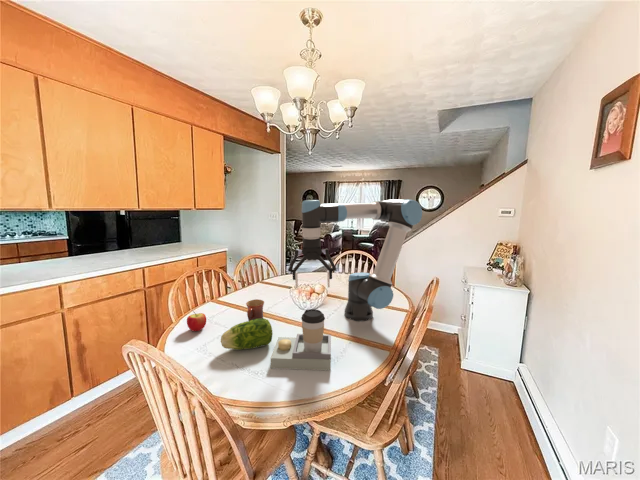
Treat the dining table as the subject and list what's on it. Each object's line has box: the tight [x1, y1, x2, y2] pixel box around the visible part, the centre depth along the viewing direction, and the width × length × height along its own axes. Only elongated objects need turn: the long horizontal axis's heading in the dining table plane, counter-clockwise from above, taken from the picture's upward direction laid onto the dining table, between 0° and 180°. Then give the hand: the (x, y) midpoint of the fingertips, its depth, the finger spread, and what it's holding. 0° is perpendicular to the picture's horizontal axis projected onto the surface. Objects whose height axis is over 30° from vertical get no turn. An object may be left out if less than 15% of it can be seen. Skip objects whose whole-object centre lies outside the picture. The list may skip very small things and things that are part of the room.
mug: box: [245, 298, 265, 321], centre depth 131 cm, size 12×9×10 cm
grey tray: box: [270, 333, 332, 371], centre depth 104 cm, size 22×15×6 cm
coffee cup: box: [300, 308, 326, 352], centre depth 102 cm, size 9×9×15 cm
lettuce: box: [220, 317, 274, 351], centre depth 110 cm, size 12×21×11 cm, turn 117°
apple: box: [186, 311, 207, 332], centre depth 124 cm, size 8×8×10 cm
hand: (312, 286), depth 113 cm, fingers open, 13 cm apart
